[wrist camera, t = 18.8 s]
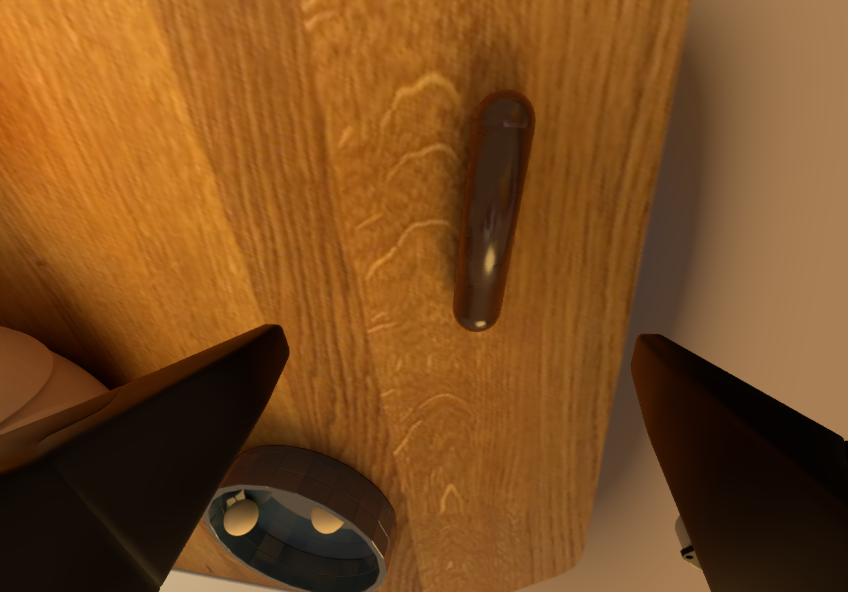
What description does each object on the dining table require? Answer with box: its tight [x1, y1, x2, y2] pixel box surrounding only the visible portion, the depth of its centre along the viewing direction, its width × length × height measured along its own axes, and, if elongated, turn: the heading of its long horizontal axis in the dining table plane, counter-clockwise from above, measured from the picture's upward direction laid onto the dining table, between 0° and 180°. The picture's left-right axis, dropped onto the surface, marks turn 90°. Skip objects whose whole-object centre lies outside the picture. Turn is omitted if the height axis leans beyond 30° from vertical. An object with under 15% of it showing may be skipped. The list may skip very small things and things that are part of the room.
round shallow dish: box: [203, 446, 397, 592], centre depth 31 cm, size 16×16×4 cm
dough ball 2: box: [311, 506, 344, 534], centre depth 29 cm, size 3×3×3 cm
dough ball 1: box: [224, 499, 259, 536], centre depth 32 cm, size 3×3×3 cm
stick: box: [453, 89, 536, 332], centre depth 16 cm, size 11×2×2 cm
